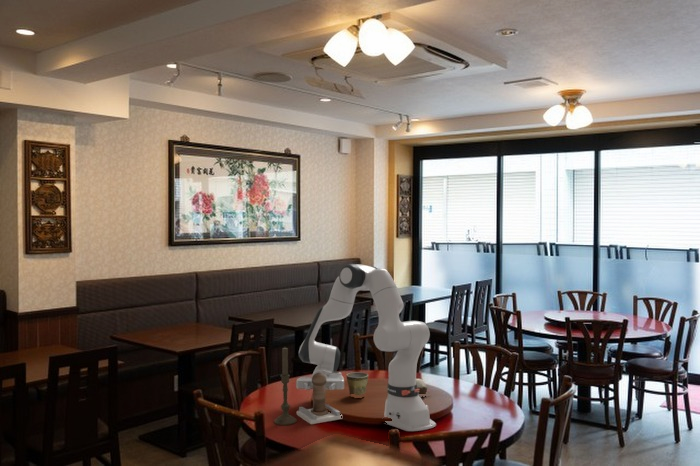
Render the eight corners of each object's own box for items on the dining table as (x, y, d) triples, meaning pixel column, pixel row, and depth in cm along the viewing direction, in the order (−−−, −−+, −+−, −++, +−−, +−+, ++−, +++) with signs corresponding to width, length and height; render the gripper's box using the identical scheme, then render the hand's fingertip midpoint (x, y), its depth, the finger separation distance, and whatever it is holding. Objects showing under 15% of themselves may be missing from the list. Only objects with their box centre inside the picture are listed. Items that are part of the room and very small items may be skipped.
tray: (342, 418, 244) (342, 411, 244) (310, 424, 238) (310, 416, 238) (327, 409, 257) (327, 402, 257) (296, 414, 250) (296, 407, 250)
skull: (397, 391, 280) (409, 373, 284) (411, 404, 284) (423, 386, 287) (411, 397, 270) (423, 378, 273) (426, 410, 273) (438, 391, 276)
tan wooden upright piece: (330, 414, 246) (330, 373, 245) (315, 416, 242) (314, 375, 242) (323, 409, 252) (323, 369, 252) (307, 412, 248) (307, 371, 248)
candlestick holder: (297, 417, 246) (297, 344, 246) (296, 425, 237) (295, 348, 236) (275, 418, 246) (274, 344, 245) (272, 425, 236) (272, 348, 236)
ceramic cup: (368, 399, 271) (368, 377, 271) (346, 399, 271) (346, 377, 271) (368, 391, 284) (368, 370, 284) (346, 391, 284) (346, 370, 284)
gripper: (297, 372, 262) (293, 380, 248) (344, 372, 261) (343, 380, 247) (297, 386, 262) (293, 395, 248) (344, 386, 261) (343, 395, 247)
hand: (319, 388), depth 248 cm, fingers open, 8 cm apart
